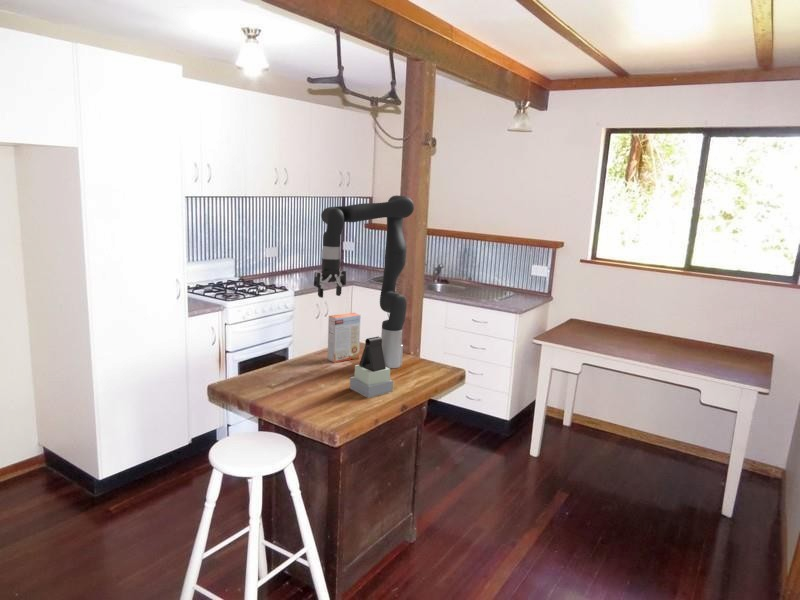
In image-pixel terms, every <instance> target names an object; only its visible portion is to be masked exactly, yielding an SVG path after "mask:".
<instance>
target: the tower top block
mask: <svg viewBox="0 0 800 600" xmlns="http://www.w3.org/2000/svg"><path fill="white" fill-rule="evenodd" d="M391 369H392V368H387V367H386V369H383V370H379V371H375V372H373V371H371V370H368V369H366V368H364V367H361V366H359V364H356V365H354V376H353V377H355V378H356V379H358V380H360V381H361V382H363V383H365V384H367V385H373V384H379V383H384V382H389V381H390V380H391Z"/></svg>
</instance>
